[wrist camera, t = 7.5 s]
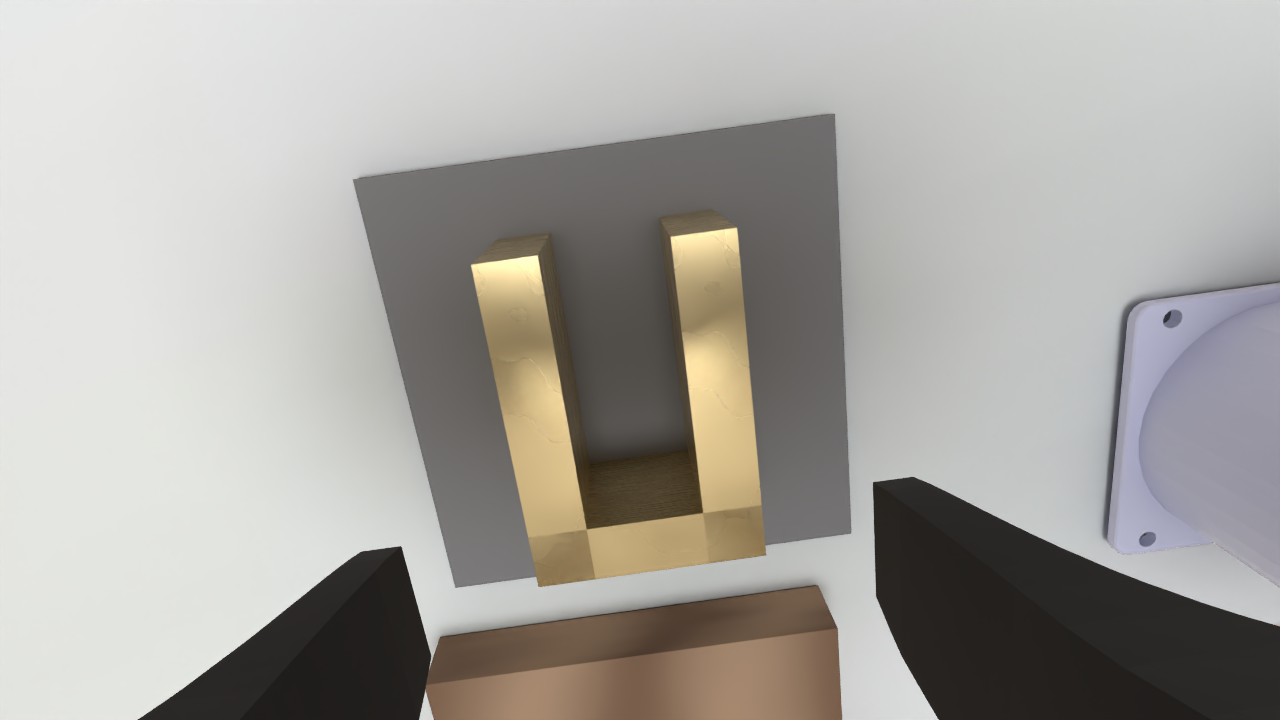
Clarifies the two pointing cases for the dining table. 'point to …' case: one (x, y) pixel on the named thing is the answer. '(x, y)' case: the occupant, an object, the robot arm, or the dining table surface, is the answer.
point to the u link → (638, 486)
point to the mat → (620, 316)
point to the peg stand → (650, 665)
